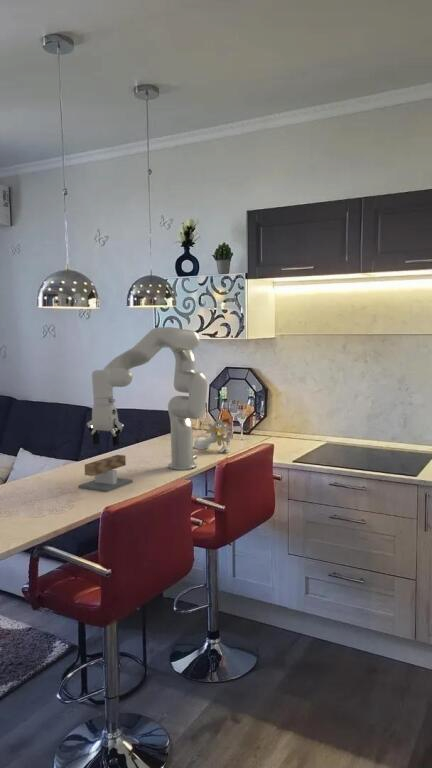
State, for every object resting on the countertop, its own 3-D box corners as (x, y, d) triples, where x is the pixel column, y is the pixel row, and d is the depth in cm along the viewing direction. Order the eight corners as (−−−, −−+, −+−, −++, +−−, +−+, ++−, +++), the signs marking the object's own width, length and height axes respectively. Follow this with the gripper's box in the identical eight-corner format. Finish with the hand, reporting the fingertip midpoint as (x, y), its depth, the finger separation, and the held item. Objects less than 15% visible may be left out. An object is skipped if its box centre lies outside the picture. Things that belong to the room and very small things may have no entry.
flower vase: (198, 469, 301) (225, 451, 283) (182, 436, 305) (208, 417, 287) (217, 461, 310) (244, 443, 292) (201, 430, 313) (227, 410, 295)
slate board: (105, 478, 243) (104, 464, 242) (132, 482, 236) (132, 467, 236) (78, 487, 229) (77, 472, 229) (107, 492, 222) (106, 476, 222)
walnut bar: (117, 464, 242) (117, 454, 242) (125, 465, 240) (125, 455, 240) (84, 475, 225) (84, 464, 224) (93, 476, 223) (92, 465, 222)
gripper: (127, 400, 229) (129, 444, 231) (92, 399, 237) (95, 441, 239) (115, 403, 222) (117, 448, 224) (79, 402, 231) (82, 445, 233)
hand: (106, 444), depth 232 cm, fingers open, 9 cm apart
